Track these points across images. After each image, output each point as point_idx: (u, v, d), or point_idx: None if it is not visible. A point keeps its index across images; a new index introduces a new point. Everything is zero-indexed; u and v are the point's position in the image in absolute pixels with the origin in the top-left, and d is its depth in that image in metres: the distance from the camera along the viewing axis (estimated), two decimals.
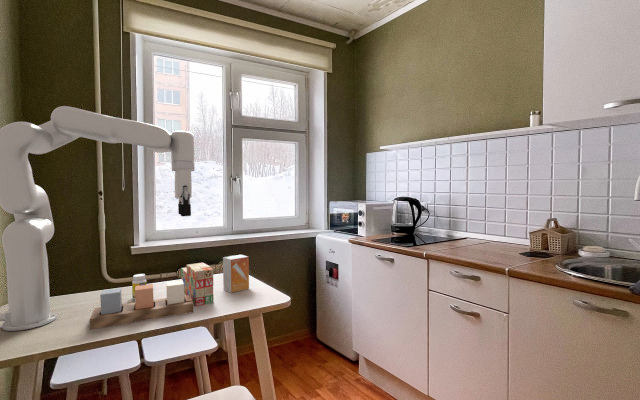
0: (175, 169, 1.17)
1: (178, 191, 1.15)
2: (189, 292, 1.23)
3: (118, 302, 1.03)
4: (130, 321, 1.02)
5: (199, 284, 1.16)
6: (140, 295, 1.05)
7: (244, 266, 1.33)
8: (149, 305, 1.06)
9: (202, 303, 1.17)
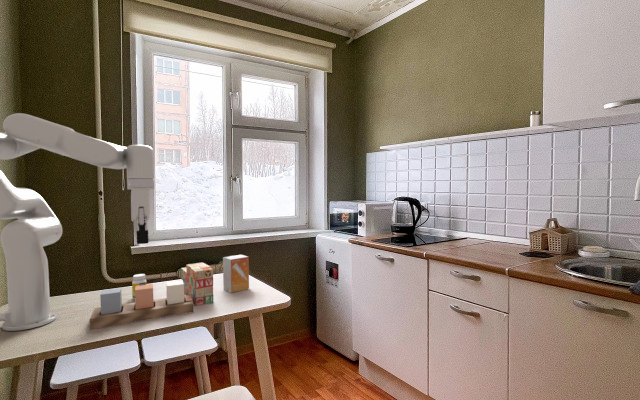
0: (130, 188, 1.03)
1: (133, 213, 1.02)
2: (189, 292, 1.23)
3: (118, 302, 1.03)
4: (130, 321, 1.02)
5: (199, 283, 1.16)
6: (140, 295, 1.05)
7: (244, 266, 1.33)
8: (149, 305, 1.06)
9: (202, 303, 1.17)
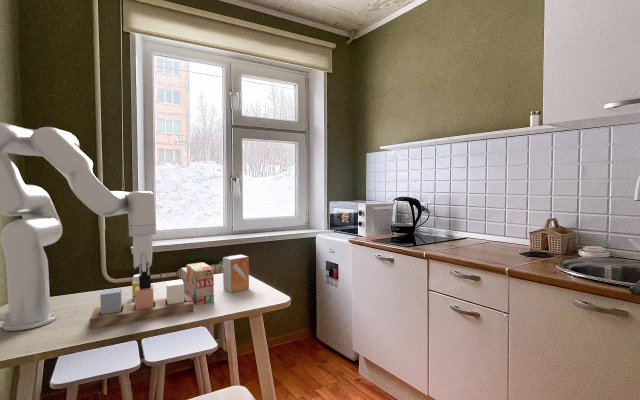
0: (132, 235, 1.04)
1: (135, 261, 1.02)
2: (189, 292, 1.23)
3: (118, 302, 1.03)
4: (130, 321, 1.02)
5: (200, 283, 1.17)
6: (140, 296, 1.05)
7: (244, 266, 1.33)
8: (149, 306, 1.06)
9: (202, 303, 1.18)
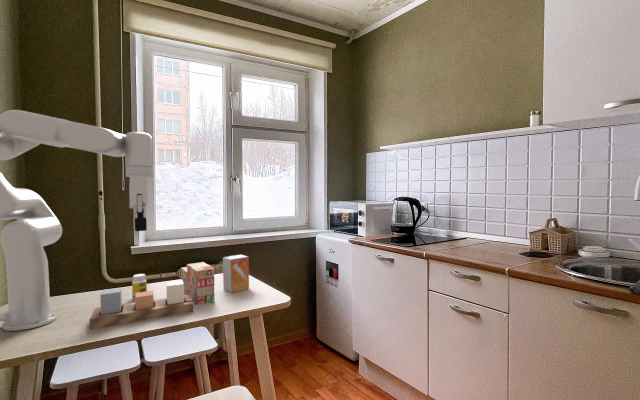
0: (129, 175, 1.03)
1: (131, 200, 1.02)
2: (190, 291, 1.24)
3: (118, 302, 1.03)
4: (130, 321, 1.02)
5: (201, 283, 1.17)
6: (140, 302, 1.05)
7: (244, 266, 1.33)
8: None
9: (203, 302, 1.18)
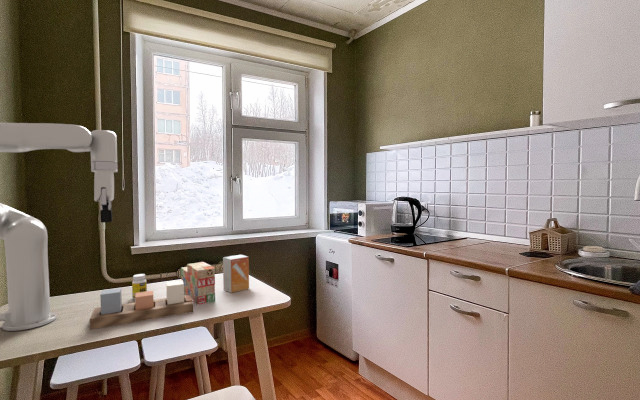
0: (94, 170, 1.11)
1: (95, 193, 1.09)
2: (190, 291, 1.24)
3: (118, 302, 1.03)
4: (130, 321, 1.02)
5: (201, 282, 1.18)
6: (140, 302, 1.05)
7: (244, 266, 1.33)
8: None
9: (204, 302, 1.19)
